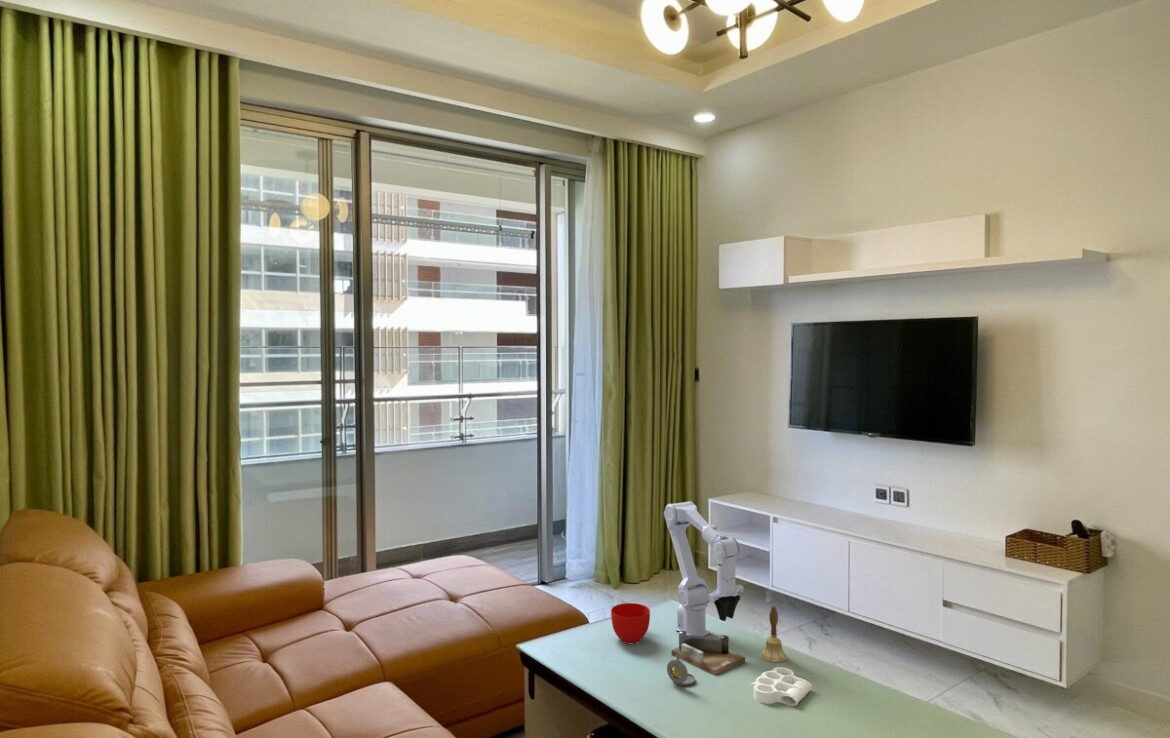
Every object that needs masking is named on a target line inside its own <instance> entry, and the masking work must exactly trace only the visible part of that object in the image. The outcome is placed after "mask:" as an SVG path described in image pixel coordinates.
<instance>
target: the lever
mask: <svg viewBox="0 0 1170 738" xmlns="http://www.w3.org/2000/svg"><path fill="white" fill-rule="evenodd" d="M729 642H730V636H729V635H725V634H721V635H720V637H717V636H716V637H715V636H707V635H705V636H694V635H687V632H686V631H679V632H678V647H679V649H680V650H681V644H683V643H685V644H687V645H689V646H691V647H694V648H696V649H698V650H700V651H704V652H715V653H723V654H727V653H729V650H730V645H729V644H730V643H729Z"/></svg>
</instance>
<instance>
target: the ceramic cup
mask: <svg viewBox="0 0 1170 738" xmlns="http://www.w3.org/2000/svg"><path fill="white" fill-rule="evenodd" d="M610 617H611V626H612V629H613V632H614V633H615V635H616V636H617V638H619V640H620V641H621V642H622V643H624V642H625V643H624V644H627V643H635V644H637V642H638V643H640V642H641V641H640V640H642V639H644V637H645V636H646V634H647V632H648V630H649V627H650V626H649V625H650V620H651V619H650V618H651V609H650V608H649V607H648V606H646V605H645V604H640V603H633V602H627V603H626V602H624V603H619V604H616V605H614V606H612V608H610ZM639 641H640V642H639Z"/></svg>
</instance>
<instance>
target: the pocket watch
mask: <svg viewBox="0 0 1170 738" xmlns="http://www.w3.org/2000/svg"><path fill="white" fill-rule="evenodd" d="M674 653H675V652H673V654H674ZM676 653H678V652H676ZM678 654H679V653H678ZM678 654H677V655H675V654H674V655H675V656H674V655H673V656H674V657H675V658H673V659H671V660H669V661H668V663H667V665H666V672H667V675H668V677H669V679H671V681H672V682H674V684H676V685H680V686H690V685H692V684H694V683H695V681H696V677H695V675H693V674H692V673H688V672H689V671H688V669H687V666H686V665H685V664H684V663H683V661H681V660H680V658H679V657H681V655H680V654H679V655H680V656H678Z"/></svg>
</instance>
